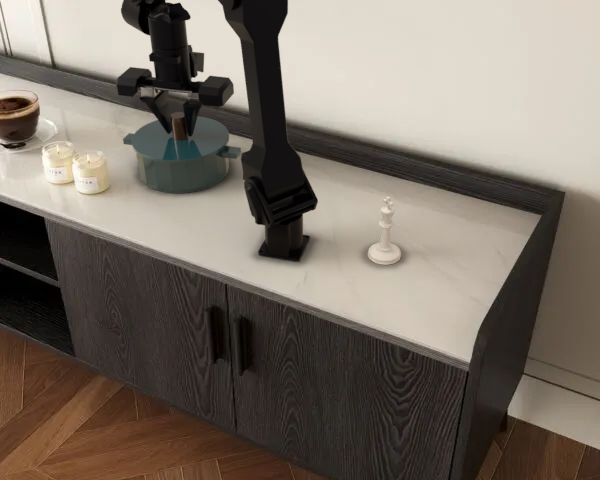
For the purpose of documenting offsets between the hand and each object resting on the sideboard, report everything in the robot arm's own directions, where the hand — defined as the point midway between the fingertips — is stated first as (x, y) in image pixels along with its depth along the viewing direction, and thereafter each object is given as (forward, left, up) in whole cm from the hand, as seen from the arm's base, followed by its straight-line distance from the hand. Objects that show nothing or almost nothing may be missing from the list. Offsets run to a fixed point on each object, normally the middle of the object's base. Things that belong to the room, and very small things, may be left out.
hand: (180, 134), depth 130 cm
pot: (0, 0, -7) cm, 7 cm away
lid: (0, 0, -1) cm, 1 cm away
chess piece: (-16, -39, -7) cm, 43 cm away
